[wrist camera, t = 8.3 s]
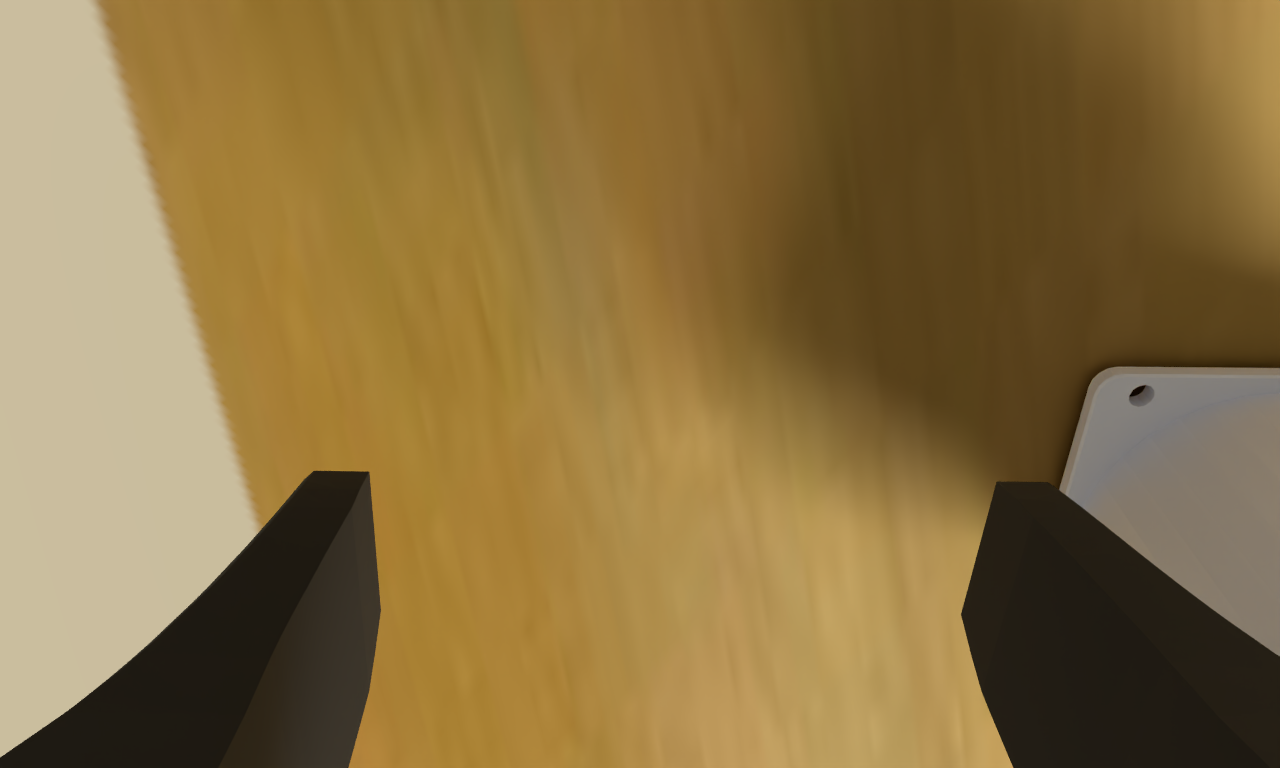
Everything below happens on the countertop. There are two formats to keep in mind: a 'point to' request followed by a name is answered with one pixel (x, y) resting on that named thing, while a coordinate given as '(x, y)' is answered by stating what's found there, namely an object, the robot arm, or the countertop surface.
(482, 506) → the countertop surface
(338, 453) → the countertop surface
